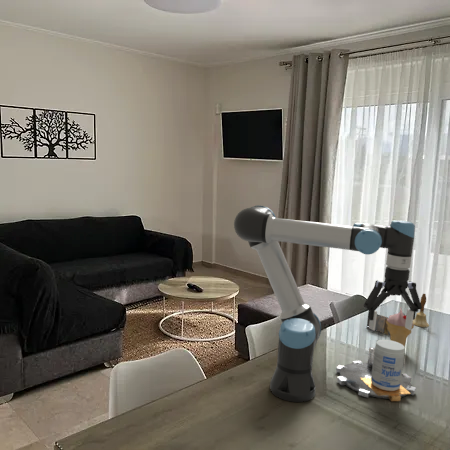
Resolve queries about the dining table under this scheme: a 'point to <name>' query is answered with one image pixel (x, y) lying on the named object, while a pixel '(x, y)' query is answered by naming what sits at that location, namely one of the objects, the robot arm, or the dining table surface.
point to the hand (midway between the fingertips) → (390, 329)
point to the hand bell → (421, 315)
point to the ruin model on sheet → (381, 324)
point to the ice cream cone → (398, 328)
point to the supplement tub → (387, 365)
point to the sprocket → (361, 380)
